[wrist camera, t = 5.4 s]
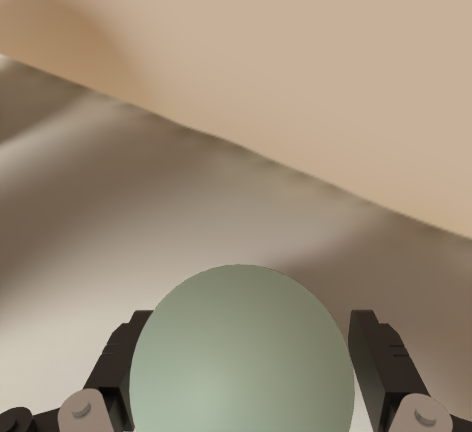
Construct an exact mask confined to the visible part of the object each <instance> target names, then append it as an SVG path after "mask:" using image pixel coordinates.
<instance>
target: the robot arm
mask: <svg viewBox="0 0 472 432" xmlns="http://www.w3.org/2000/svg"><path fill="white" fill-rule="evenodd" d="M153 311H154V310H137V311H135V312H134V314H133V316H132V318H131V320H130V322H129V323H122V324H121V325H120V326H119V327H118V328H117V329H116V330H115V331H114V332H113V333H112V335H111V337H110V338H109V340H108V342H107V346H105V348H104V350H103V352H102V355H100V357H99V359H98V361H97V363H96V365H95V367H94V369H93V371H92V372H91V374H90V376H89V378H88V380H87V382H86V384H85V386H84V387H83V389H82V390H80V391H78V392H76V393H74V394H73V395H71V396H70V397H69V398H68V399H67V400H66V401H65V402H64V403H63V404H62V406H61V407H60V408H57V409H54V410H51V411H47V412H44V413H40V414H37V415H32V413H31V411H30V410H29V409H27V408H25V407H16V408H12V409H9V410H7V411H5V412H3V413H2V414H0V432H123V431H126V432H133V431H134V428H135V425H134V422H133V417H132V412H131V406H130V393H129V387H130V371H131V365H132V359H133V355H134V351H135V348H136V344H137V342H138V339H139V337H140V334H141V332H142V330H143V328H144V326H145V324H146V322H147V320H148V318H149V317H150V315H151V314H152V313H153ZM348 347H349V353H350V357H351V360H352V363H353V367H354V370H355V373H356V376H357V379H358V383H359V386H360V389H361V392H362V396H363V399H364V402H365V405H366V409H367V412H368V415H369V418H370V422H371V425H372V428H373V431H374V432H472V422H470V421H467V420H464V419H461V418H458V417H455V416H453V415H451V414H450V413H448V411H447V410H446V409H445V408H444V406H443V405H441V404H440V403H439V402H438V401H436V400H435V399H433V398H431V396H430V395H429V393H428V391H427V389H426V387H425V385H424V383H423V381H422V379H421V377H420V375H419V373H418V371H417V369H416V367H415V365H414V363H413V361H412V359H411V358H410V357H409V354H408V352H407V350H406V348H405V347H404V344H403V342H402V340H401V338H400V336H399V334H398V333H397V332H396V331H395V330H394V329H393V328H392V327H391V326H390V325H389V324H379V323H378V320H377V318H376V316H375V314H374V312H373V311H372V310H352V312H351V318H350V326H349V335H348Z"/></svg>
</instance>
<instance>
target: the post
mask: <svg viewBox="0 0 472 432" xmlns="http://www.w3.org/2000/svg"><path fill="white" fill-rule="evenodd" d="M129 393H130V406H131V412H132V417H133V422H134V425H135V428H136V432H349V429H350V425H351V420H352V415H353V409H354V396H355V391H354V375H353V369H352V363H351V359H350V355H349V352H348V348H347V345H346V343H345V340H344V338H343V336H342V333H341V331H340V329H339V327H338V326H337V324H336V322H335V320H334V319H333V317H332V316H331V314H330V313H329V312H328V310H327V309H326V307H325V306H324V305H323V304H322V303H321V302H320V301H319V300H318V299H317V297H316V296H315V295H314V294H313V293H311V292H310V291H309V290H308V289H306V288H305V287H304V286H303V285H301V284H300V283H298V282H297V281H295V280H294V279H292V278H290V277H288V276H286V275H284V274H282V273H280V272H277V271H274V270H271V269H268V268H265V267H259V266H254V265H239V264H238V265H226V266H221V267H216V268H212V269H209V270H206V271H204V272H201V273H199V274H197V275H195V276H193V277H191V278H189V279H187V280H186V281H184V282H183V283H181V284H180V285H178V286H177V287H176V288H175V289H173V290H172V291H171V292H170V293H169V294H168V295H167V296H166V297H165V298H164V299H163V300H162V301H161V302H160V303H159V304H158V306H157V307H156V308H155V310H154V311H153V313H152V314H151V315H150V317H149V318H148V320H147V322H146V324H145V326H144V328H143V330H142V332H141V334H140V337H139V339H138V342H137V344H136V348H135V351H134V355H133V359H132V365H131V371H130V387H129Z"/></svg>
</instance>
